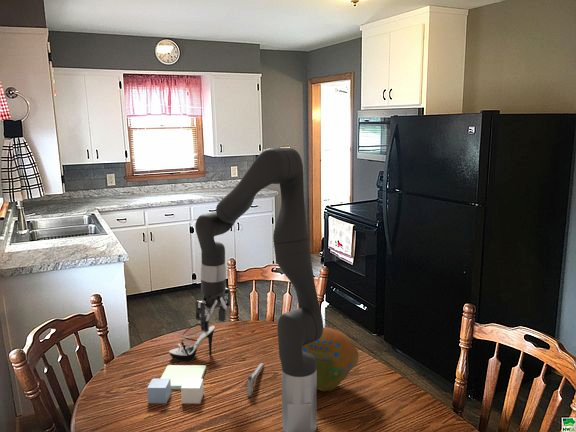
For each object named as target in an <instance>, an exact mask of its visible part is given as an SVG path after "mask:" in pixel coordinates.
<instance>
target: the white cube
mask: <svg viewBox="0 0 576 432" xmlns="http://www.w3.org/2000/svg"><path fill="white" fill-rule="evenodd" d="M204 390H205V389H204V378H202V379H185V381H184V383H183V385H182V387H181V389H180V392H181V393H180V394H181V395H180V396H181V404H201V403H202V400H203V396H204V394H205V393H204Z"/></svg>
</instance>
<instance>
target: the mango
mask: <svg viewBox="0 0 576 432" xmlns="http://www.w3.org/2000/svg"><path fill="white" fill-rule="evenodd" d="M302 351H304V352H308V353H310V354H312V355H313V356H314V357H315V358H316V361H317V391H318V390H319V391H321V392H330V391H332V390H334V389H336V388H337V387H338V386H339V385H340V384H341V383H342V382H343V381H345V379H346V378H347V377H348V375H349V373H350V371H352V370H353V369H354V368H355V367H356V366H357V365H358V363H359V352H358V349H357V347H356V346H355V344H354V342H353V341H352V340H351V338H349V337H348V335H346V334H344V332H342V331H341V330H337V329H334V328H332V327H324V326H323V333H322V336H321V338H320V339H318V340H316V341H314V342H311V343H309V344H306V345H303V346H302Z"/></svg>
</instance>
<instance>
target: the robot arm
mask: <svg viewBox="0 0 576 432" xmlns="http://www.w3.org/2000/svg"><path fill="white" fill-rule="evenodd" d="M303 165H304V164H303V159H302V157H301V155H300V153H299V152H298V151H297V150H296V149H295V148H292V147H269V148H266V149H264V150H262V151H261V153H260V154H259V155H258V156H257V157H256V159H254V161H253V163H252V164H251V166H250V167H249V168H248V170H247V171H246V172H245V174H244V175H243V177H242V178H241V179H240V181H239V182H238V183H237V184H236V186H235V187H234V188H233V189H232V190H231V191H230V192H229V193H227V194H226V195H225V196H224V197H223V198H222V199H221V200H220V201H219V202H218V203H217V205H216V208H215V211H213V212H208V213H207V212H206V213H203V214H201V215H200V216H198V217H197V219H196V220H195V226H194V227H195V233H196V235H197V236H196V237H197V239H198V243H199V246H200V249H201V266H200V290H201V293H202V294H203V299H202V300H196V303H195V319H196V320H198V321H199V320H200V324H201V326H200V329H201V332H202V331H204V332H207V331H209V327H210V326H209V325H210V324H209V321H210V320H209V319H210V317H211V315H213V312H214V310H215V309H217V308H218V321H221V322H225V321H226V317H227V315H226V314H227V312H226V310H227V309H228V307H230V306H231V290H230V288H227V267H226V247H225V245H224V244H223V243H222V242H219V241H215V237H216V236H220V235H221V236H222V235H224V234H226V233H227V232H228V231H229V232H230V230H231V229H232V228H233V227H234V225H235V223H236V221H237V220H238V219H240V217H241V216H243V215H244V214H245V213H246V212H248V210H249V209H250V208H251V206H252V205H253V203H254V200H255V197H256V195H257V194H258V193H260V191H261V190H264V189H265V188H266V187H268V186H270V185H279V188H280V208H279V212H278V215H277V219H276V222H275V225H274V230H273V236H272V239H273V248H274V255H275V260H276V264H277V265H278V267H279V269H280V270H281V271H282V273H283V274H284V275H285V276H286V278H287V279H288V281H289V282H290V283H291V284H292V287H293V288H294V290H295V294H296V297H297V303H298V308H296V309H294V310H290V311H286V312H284V313H282V314H281V315H280V316H279V318H278V321H277V342H278V355H279V359H280V364H281V411H282V412H281V417H282V419H281V421H282V425H281V427H282V428H281V429H282V431H283V432H316V431H317V424H318V423H317V421H318V420H317V417H318V415H317V410H318V409H317V403H318V402H317V399H318V398H317V394H318V392H317V391H318V389H317V361H316V358H315V357H314V356H313V355H312V354H310V353H308V352H304V351H302V346H303V345H306V344H309V343H311V342H314V341H316V340H318V339H320V338H321V336H322V333H323V328H324V321H323V316H322V310H321V306H320V302H319V301H320V300H319V298H318V292H317V289H316V283H315V277H314V271H313V264H312V263H313V262H312V252H311V245H310V237H309V231H308V225H307V213H306V206H305V205H306V203H305V187H304V186H305V185H304V184H305V183H304V182H305V181H304V166H303ZM206 308H207V309H206ZM205 314H206V315H205Z"/></svg>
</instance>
